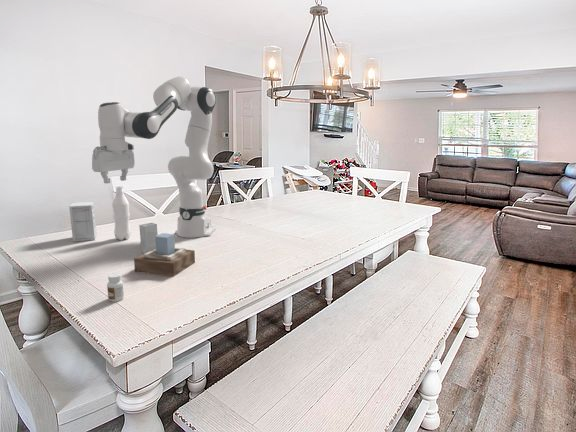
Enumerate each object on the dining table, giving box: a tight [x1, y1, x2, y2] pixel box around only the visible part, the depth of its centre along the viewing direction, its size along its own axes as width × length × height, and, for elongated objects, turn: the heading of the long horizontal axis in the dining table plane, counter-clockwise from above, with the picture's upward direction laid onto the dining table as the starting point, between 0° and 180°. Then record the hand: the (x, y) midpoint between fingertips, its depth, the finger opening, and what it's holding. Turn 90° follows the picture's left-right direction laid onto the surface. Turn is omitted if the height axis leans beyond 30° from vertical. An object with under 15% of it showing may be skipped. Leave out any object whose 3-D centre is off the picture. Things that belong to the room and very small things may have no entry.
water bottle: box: [111, 186, 132, 241], centre depth 180 cm, size 7×7×25 cm
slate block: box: [155, 232, 176, 256], centre depth 145 cm, size 5×5×8 cm
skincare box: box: [138, 222, 159, 254], centre depth 163 cm, size 6×4×12 cm
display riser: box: [133, 247, 196, 277], centre depth 146 cm, size 16×16×6 cm
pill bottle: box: [106, 273, 125, 303], centre depth 117 cm, size 4×4×8 cm
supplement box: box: [69, 201, 98, 243], centre depth 180 cm, size 10×9×17 cm
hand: (115, 181), depth 149 cm, fingers open, 8 cm apart
